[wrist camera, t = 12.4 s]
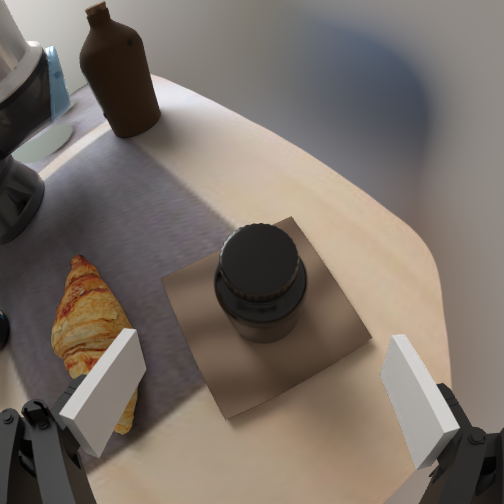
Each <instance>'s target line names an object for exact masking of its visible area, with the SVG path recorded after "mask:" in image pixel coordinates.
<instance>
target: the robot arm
mask: <svg viewBox="0 0 504 504" xmlns="http://www.w3.org/2000/svg"><path fill="white" fill-rule="evenodd" d="M70 103H71V100H70V96H69V92H68V89H67V86H66V82H65V79H64V76H63V72H62V69H61V65H60V62H59V58H58V55H57V52H56V49H55V47H54V46H51V47H49V48H46V49H45V50H43V48H42V46H41V45H40V44H39V43H38V42H36V41H27V42H26V41H25V40H24V38H23V36H22V34H21V32H20V31H19V29H18V27H17V25H16V23H15V21H14V19H13V18H12V15H11V14H10V11H9V9H8V8H7V5H6V3H5V1H4V0H0V244H3V243H7V242H9V241H11V240H12V239H14V238H15V237H16V236H17V235H18V234H19V233H20V232H21V231H22V230H23V229H24V228H25V227H26V226H27V224H28V223H29V222H30V220H31V219H32V217H33V216H34V214H35V212H36V211H37V209H38V207H39V205H40V202H41V200H42V197H43V193H44V182H43V180H42V178H41V177H40V176H39V175H38V173H37V172H36V171H34V170H32V169H30V168H29V167H27V166H25V165H24V164H22V163H20V162H18V161H17V160H15V159H14V158H13V157H12V155H11V153H12V152H14V151H15V150H16V149H17V148H19V147H20V146H21V145H22V144H24V143H25V142H26V141H28V140H29V139H30V138H32V137H33V136H35V135H36V134H37V133H39V132H40V131H42V130H43V129H45V128H46V127H47V126H49V125H51V124H53V123H54V121H55V120H57V119H58V118H59V117H61V116H62V115H63V114H65V113H66V112H67V111H68V109H69V107H70ZM145 371H146V365H145V361H144V358H143V354H142V350H141V346H140V342H139V338H138V334H137V330H135V329H127V328H124V329H123V330H122V331H121V333H120V334H119V335H118V336H117V338H116V339H115V340H114V341H113V343H112V344H111V345H110V346H109V348H108V349H107V350H106V352H105V353H104V354H103V355H102V357H101V358H100V359H99V361H98V362H97V363H96V364H95V366H94V367H93V368H92V370H91V371H90V372H89V374H88V375H85V374H81V375H80V376H78V377H77V378H75V379H74V380H73V381H72V383H71V384H70V385H69V388H67V389H66V390H65V392H64V393H63V394H62V395H61V397H60V398H59V399H58V401H57V402H56V403H55V405H54V406H53V407H52V409H51V410H49V408H48V406H47V405H46V403H45V402H44V401H42V400H39V399H33V400H31V401H28V402H27V403H26V404H25V405H24V406H23V408H22V412H21V413H22V414H23V416H24V417H25V418H23V417H20V415H19V414H18V412H17V411H16V410H15V409H11V408H9V409H5V410H3V411H2V412H1V413H0V504H97V503H96V501H95V498H94V496H93V493H92V490H91V488H90V485H89V482H88V479H87V476H86V473H85V470H84V467H83V464H82V461H81V457H80V454H79V452H78V451H77V450H78V449H79V447H80V446H81V448H82V449H83V450H84V452H85V453H87V454H90V455H92V456H95V457H98V458H100V456H101V454H102V452H103V450H104V448H105V446H106V444H107V442H108V440H109V438H110V436H111V434H112V432H113V431H114V429H115V427H116V425H117V423H118V421H119V419H120V417H121V415H122V413H123V412H124V410H125V408H126V406H127V404H128V402H129V400H130V399H131V397H132V395H133V393H134V391H135V389H136V388H137V386H138V384H139V382H140V380H141V379H142V377H143V375H144V373H145ZM380 376H381V379H382V381H383V384H384V386H385V389H386V391H387V393H388V396H389V398H390V401H391V403H392V406H393V408H394V411H395V414H396V416H397V419H398V421H399V424H400V427H401V429H402V432H403V435H404V438H405V440H406V443H407V446H408V449H409V452H410V454H411V457H412V460H413V463H414V466H415V469H416V470H419V469H422V468H426V467H429V466H431V465H432V464H433V462H434V461H435V460H436V459H437V460H438V463H439V465H438V466H437V467H436V468H435V470H434V471H433V472H432V473H431V474H430V475H429V477H431V476H432V475H433V476H432V478H431V481H430V483H429V485H428V487H427V489H426V491H425V493H424V495H423V497H422V499H421V501H420V503H419V504H504V428H503V429H502V430H501V432H500V433H492V434H486V433H485V432H484V431H483V430H482V429H480V428H478V427H472V425H471V423H470V422H469V420H468V418H467V416H466V415H465V413H464V411H463V409H462V408H461V406H460V405H459V402H458V401H457V399H455V396H454V394H453V393H452V391H451V389H450V388H448V387H447V386H446V385H445V384H443V383H441V384H435V382H434V380H433V379H432V377H431V375H430V374H429V372H428V370H427V369H426V367H425V365H424V364H423V362H422V361H421V359H420V357H419V356H418V354H417V353H416V351H415V349H414V348H413V346H412V345H411V343H410V342H409V340H408V339H407V337H406V336H405V334H399V335H392V336H391V340H390V343H389V347H388V351H387V354H386V357H385V361H384V364H383V367H382V370H381V373H380Z"/></svg>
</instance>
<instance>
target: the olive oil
mask: <svg viewBox="0 0 504 504" xmlns="http://www.w3.org/2000/svg"><path fill="white" fill-rule="evenodd" d="M85 11H86V13H87V15H88V16H87V19H88V22H89V25H90V32H89V34H88V36H87V38H86V40H85V42H84V45H83V47H82V50H81V52H80V68H81V70H82V73H83V75H84V76H85V79H86V81H87V82H88V84H89V86H90V88H91V90H92V92H93V94H94V96H95V98H96V99H97V101H98V103H99V105H100V107H101V109H102V111H103V113H104V114H103V115H104V116H105V118H107V120H108V122H109V124H110V126H111V128H112V130H113V131H114V133H115V134H116V135H117V136H119V137H131V136H135V135H138V134H140V133H142V132H144V131H146V130H148V129H149V128H150V127H152V126H153V125H154V124H155V123H156V122H157V121H158V119H159V117H160V109H159V106H158V102H157V99H156V95H155V92H154V88H153V84H152V80H151V76H150V72H149V68H148V64H147V60H146V56H145V51H144V46H143V42H142V39H141V38H140V36H139V35H138V34H137V32H136V31H135V30H134V29H132V28H130V27H128V26H126V25H123V24H120V23H118V22H115V21H113V20H112V19H110V15H109V11H108V8H106V3H105V1H103V2H100V3H98V4H95V5H93V6H91V7H89V8H87V9H86V10H85Z"/></svg>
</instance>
